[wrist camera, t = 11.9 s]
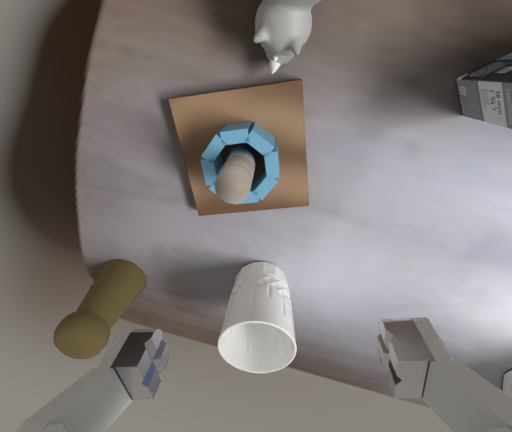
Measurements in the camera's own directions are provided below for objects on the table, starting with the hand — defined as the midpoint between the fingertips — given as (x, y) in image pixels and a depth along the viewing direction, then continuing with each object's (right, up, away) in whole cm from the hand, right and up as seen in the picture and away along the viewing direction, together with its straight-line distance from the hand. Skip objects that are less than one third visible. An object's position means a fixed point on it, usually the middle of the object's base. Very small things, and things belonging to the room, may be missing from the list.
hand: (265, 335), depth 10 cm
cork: (-18, -4, +28) cm, 33 cm away
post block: (-1, +11, +18) cm, 21 cm away
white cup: (0, -4, +26) cm, 27 cm away
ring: (-1, +10, +17) cm, 20 cm away
